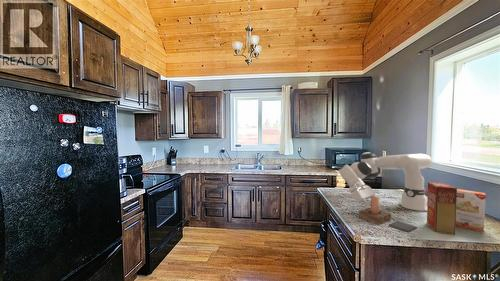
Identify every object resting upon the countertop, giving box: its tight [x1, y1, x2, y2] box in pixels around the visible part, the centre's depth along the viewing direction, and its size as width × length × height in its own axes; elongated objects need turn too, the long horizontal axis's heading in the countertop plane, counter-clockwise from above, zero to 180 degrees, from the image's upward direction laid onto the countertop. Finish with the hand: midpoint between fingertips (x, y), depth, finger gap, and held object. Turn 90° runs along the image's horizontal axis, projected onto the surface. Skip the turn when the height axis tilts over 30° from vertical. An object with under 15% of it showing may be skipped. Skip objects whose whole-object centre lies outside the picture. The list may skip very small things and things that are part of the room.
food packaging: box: [426, 181, 458, 236], centre depth 124 cm, size 13×9×25 cm
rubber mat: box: [388, 220, 418, 233], centre depth 126 cm, size 10×10×1 cm
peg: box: [370, 195, 380, 215], centre depth 138 cm, size 4×4×14 cm
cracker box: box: [456, 188, 487, 233], centre depth 127 cm, size 14×6×21 cm, turn 45°
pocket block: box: [358, 207, 392, 225], centre depth 138 cm, size 13×13×4 cm
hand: (373, 204), depth 138 cm, fingers open, 8 cm apart
